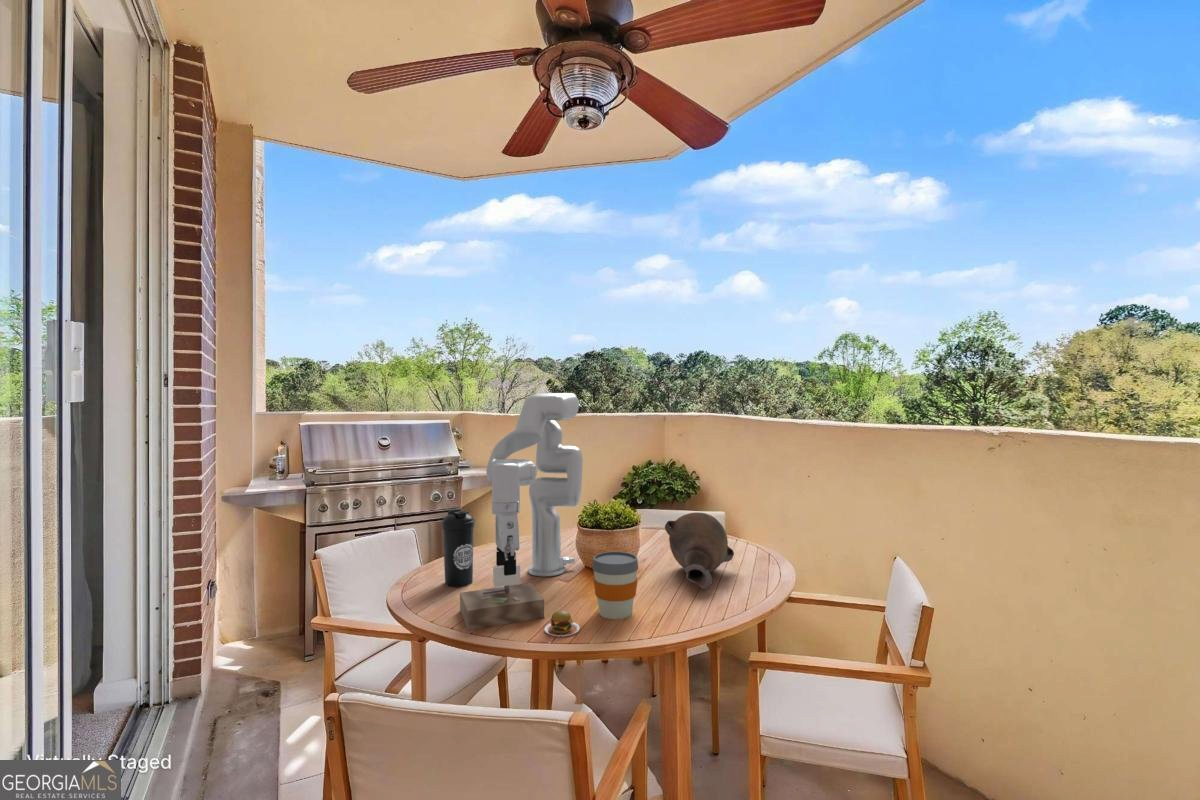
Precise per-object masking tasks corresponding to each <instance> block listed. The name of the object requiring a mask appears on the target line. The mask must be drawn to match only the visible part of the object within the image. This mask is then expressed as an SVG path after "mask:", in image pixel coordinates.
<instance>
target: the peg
mask: <svg viewBox="0 0 1200 800" xmlns="http://www.w3.org/2000/svg"><path fill="white" fill-rule="evenodd" d="M492 571H493V572H492V573H493V577H492V579H493V581H492V582H493V583H492V584H493V587H494V588H498V587H504V589H500V590H492V591H485V592H483V594H490V593H498V592H509V591H510V590H509V586H513V585H520V584H521V565H520V564H519V563H516V574H515V575H507V576H505V575H504V565H502V566H497V565H495V566H493V567H492Z"/></svg>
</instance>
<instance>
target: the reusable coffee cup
mask: <svg viewBox="0 0 1200 800" xmlns="http://www.w3.org/2000/svg"><path fill="white" fill-rule="evenodd" d="M592 559H593V560H592V571H593V574H594V575H593V576H594V577H593V579H592V580H593V587H594V593H595V597H596V598H597V604H598V605H597V606H598V613H599V615H600V616H601V617H603V618H606V619H609V620H620V619H621V620H623V619H626V618H629V617H631V616H632V614H633V608H634V600H635V597H636V594H637V587H638V576H637V573H638V570H639V561H638V556H637V555H635V554H633V553H631V552H627V551H606V552H605V551H604V552H600V553H596V554H595V555H594V556H593V558H592Z"/></svg>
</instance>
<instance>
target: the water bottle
mask: <svg viewBox="0 0 1200 800" xmlns="http://www.w3.org/2000/svg"><path fill="white" fill-rule="evenodd" d="M475 521H476V519H475V518H474V517H473V516H472V515H471V513H470V511H469V510H462V509H461V508H451V509H448V511H447V515H445V517H444V518H443V519H442V520H441V530H442V539H443V540H442V541H443V561H444V564H443V565H444V568H443V569H444V585H445V586H447V587H448V588H449V587H451V588H462V587H466V586H469V585H471V584H472V583H473V581H474V579H473V578H474V576H473V575H474V528H475V526H476V523H475Z"/></svg>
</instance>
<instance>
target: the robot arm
mask: <svg viewBox="0 0 1200 800" xmlns="http://www.w3.org/2000/svg"><path fill="white" fill-rule="evenodd" d="M579 405H580V403H579V399H578V398H577V396H576V394H575V393H572V392H541V393H534V394H531V395H529V396H527V397H526V398H525V400H524V402H523V405H522V407H521V410H520V413H519V415H518V420H517V423H516V424H515V425H516V426H515V428H514V429H513V430H511V431H510V432H509V433H508V434H507V435H505V436H504V437H503V438H502V439H500V440H499V441H498V442H497V443H496V444H495V445H494V447H493V449H492V450H491V453H490V456H489V460H488V462H487V466H486V474H485V475H486V478H487V481H488V482H489V483H491V513H492V515H495V518H494V520H495V521H494V525H495V526H494V528H495V529H494V534H495V535H494V538H495V539H494V540H495V541H494V542H495V545H496V552H495V553H496V555H495V556H496V557H495V558H496V560H495V561H496V562H495V563H496V565H495V566H502V565H504V575H505V576H507V575H515V574H516V564H517V553H516V551H519V550H520V528H519V527H520V526H519V518H518V514H520V511H521V510H520V509H521V507H520V506H521V502H520V499H521V498H520V496H521V495H520V492H521V491H520V490H521V489H520V488H521V487H522V486H524V487H525V486H529V487H528V495H529V501H530V508H531V523H532V524H531V535H532V537H531V539H532V541H531V542H532V543H531V544H532V547H531V548H532V549H531V550H532V553H531V554H532V564H531V565H529V566H528V568H527V573H528V574H530V575H532V576H534V577H554V576H560V575H562V574H564V573H565V571H566V565H572V564H575V562H576V560H575V557H569V556H562V555H561V552H562V551H561V547H562V546H561V545H562V543H561V542H562V541H561V526H562V525H561V524H562V523H561V517H560V516H561V515H560V514H559V512H558V510H557V509H556V508H555V507H567V508H568V507H570V508H571V507H576V506H578V505H579V503H580V501H581V497H582V487H583V486H582V484H583V481H582V480H583V464H584V463H583V453H582V451H581V449H580V448H579V447H577V446H575V445H563V429H562V428H561V426H560V425H559V423H558V421H569V420H570V419H573V418H575V417H576V416H577V414H578V412H579V408H580V407H579ZM534 445H536V453H535V463H534V462H533V461H532V460H529V459H518V458H517V459H516V458H508V457H510V456H511V455H513V454H515V453H516V452H519V451H522V450H525V449H527V448H530V447H532V446H534ZM537 472H540V473H542V474H543V473H544V474H562V475H566V476H567V477H555V476H553V477H552V476H550V477H549V476H544V477H543V476H542V477H541V476H540V477H537V475H538V474H537Z"/></svg>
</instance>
